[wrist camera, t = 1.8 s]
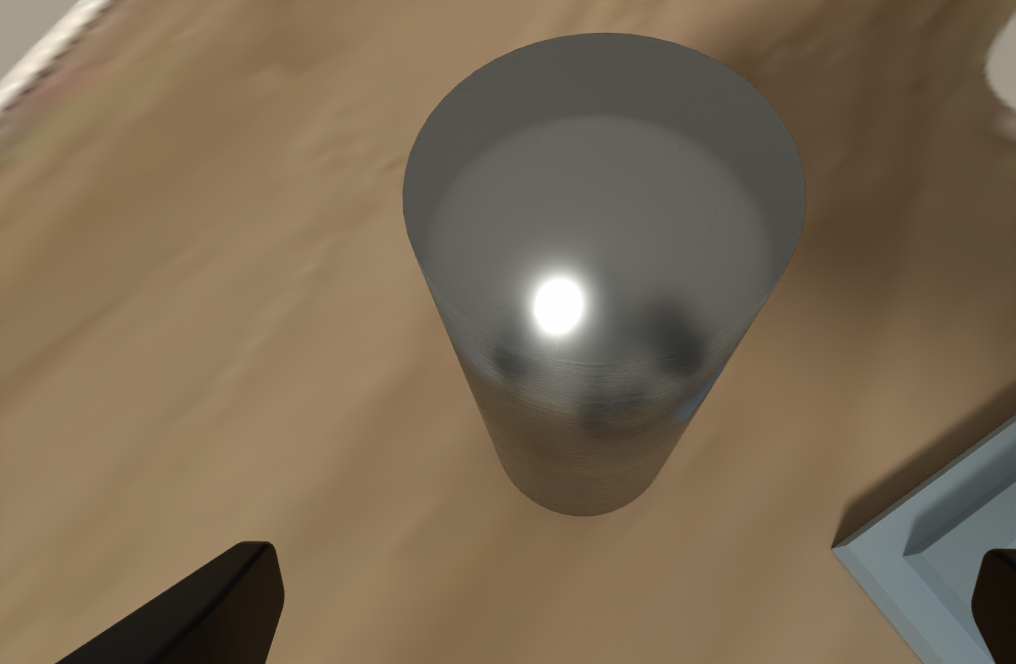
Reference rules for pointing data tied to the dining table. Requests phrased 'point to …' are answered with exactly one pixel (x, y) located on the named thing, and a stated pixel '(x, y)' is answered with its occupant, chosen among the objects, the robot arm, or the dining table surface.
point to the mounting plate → (940, 549)
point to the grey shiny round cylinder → (599, 249)
